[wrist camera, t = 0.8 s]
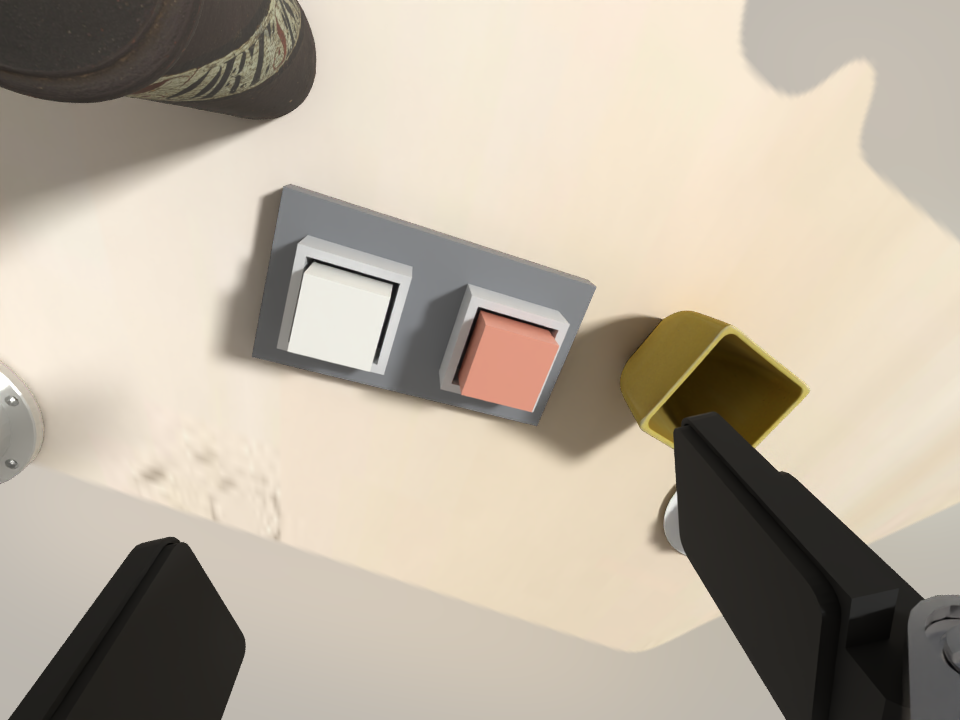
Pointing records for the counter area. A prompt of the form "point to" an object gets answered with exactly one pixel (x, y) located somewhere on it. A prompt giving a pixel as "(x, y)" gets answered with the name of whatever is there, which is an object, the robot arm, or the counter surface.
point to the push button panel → (413, 297)
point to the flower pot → (707, 379)
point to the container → (161, 53)
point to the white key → (339, 316)
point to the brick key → (506, 361)
